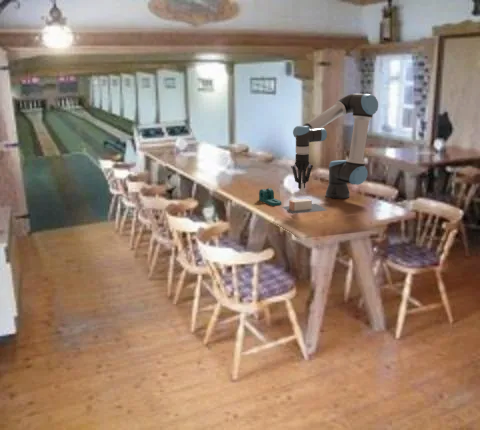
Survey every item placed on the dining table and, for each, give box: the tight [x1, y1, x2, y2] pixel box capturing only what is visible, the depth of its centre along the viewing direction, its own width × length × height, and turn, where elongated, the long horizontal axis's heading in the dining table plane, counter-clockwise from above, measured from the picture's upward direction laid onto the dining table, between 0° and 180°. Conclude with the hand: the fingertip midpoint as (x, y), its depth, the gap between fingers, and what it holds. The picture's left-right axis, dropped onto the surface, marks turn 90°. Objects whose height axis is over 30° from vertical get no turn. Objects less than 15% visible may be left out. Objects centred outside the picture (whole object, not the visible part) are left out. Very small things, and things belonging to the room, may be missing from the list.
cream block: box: [288, 198, 313, 211], centre depth 304 cm, size 5×5×12 cm
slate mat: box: [282, 203, 327, 215], centre depth 305 cm, size 22×16×1 cm
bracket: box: [258, 187, 282, 207], centre depth 320 cm, size 18×7×8 cm, turn 27°
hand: (301, 193), depth 302 cm, fingers closed
